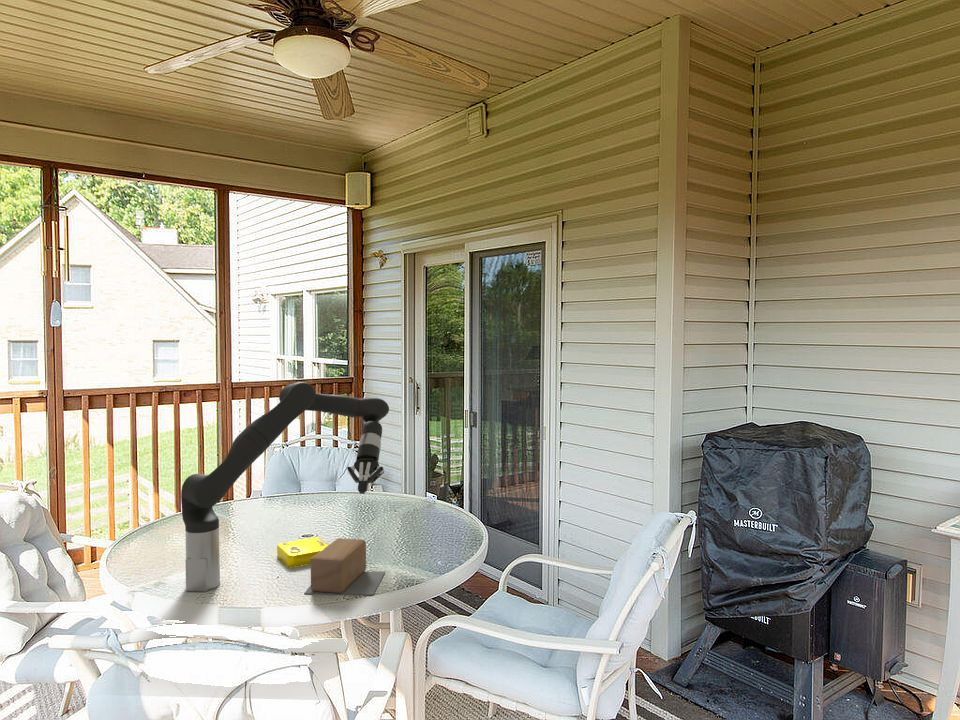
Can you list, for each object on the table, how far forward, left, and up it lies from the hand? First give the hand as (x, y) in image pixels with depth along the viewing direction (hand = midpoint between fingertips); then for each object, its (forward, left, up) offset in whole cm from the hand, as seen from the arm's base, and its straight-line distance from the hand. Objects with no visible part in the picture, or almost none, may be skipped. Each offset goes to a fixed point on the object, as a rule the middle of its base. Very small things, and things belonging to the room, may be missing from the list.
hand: (361, 492), depth 218 cm
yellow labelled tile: (+2, +20, -23) cm, 31 cm away
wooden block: (-9, +1, -17) cm, 20 cm away
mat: (-21, 0, -23) cm, 30 cm away
